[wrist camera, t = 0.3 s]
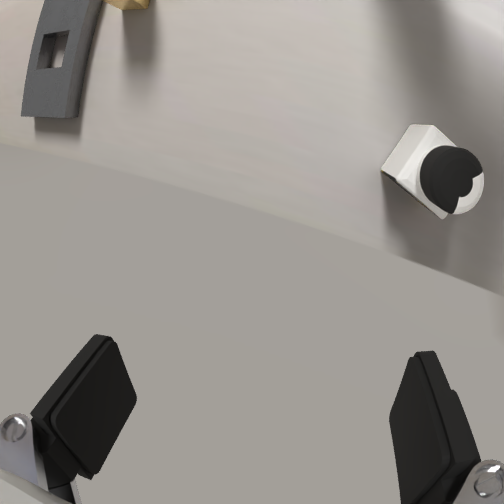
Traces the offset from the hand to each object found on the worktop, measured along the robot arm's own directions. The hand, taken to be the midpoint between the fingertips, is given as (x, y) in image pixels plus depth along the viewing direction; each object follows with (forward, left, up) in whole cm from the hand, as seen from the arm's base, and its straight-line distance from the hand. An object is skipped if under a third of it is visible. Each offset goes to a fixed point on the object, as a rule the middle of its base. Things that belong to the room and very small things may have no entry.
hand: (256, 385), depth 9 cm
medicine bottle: (-7, +14, -31) cm, 34 cm away
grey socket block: (-14, -36, -31) cm, 49 cm away
